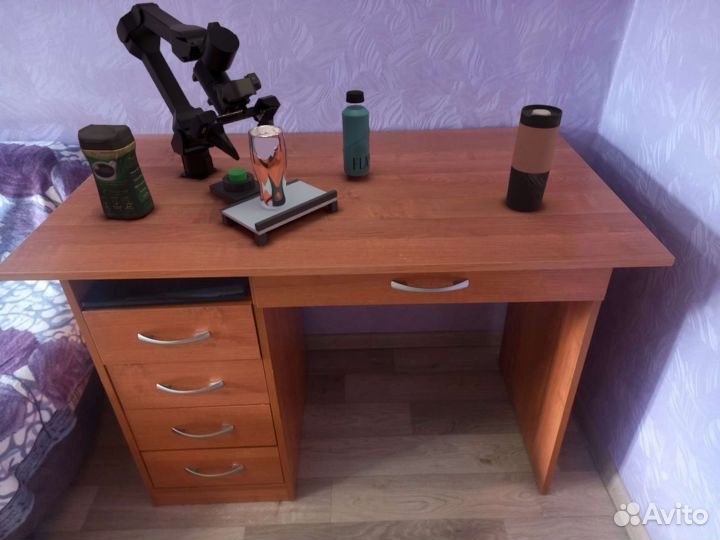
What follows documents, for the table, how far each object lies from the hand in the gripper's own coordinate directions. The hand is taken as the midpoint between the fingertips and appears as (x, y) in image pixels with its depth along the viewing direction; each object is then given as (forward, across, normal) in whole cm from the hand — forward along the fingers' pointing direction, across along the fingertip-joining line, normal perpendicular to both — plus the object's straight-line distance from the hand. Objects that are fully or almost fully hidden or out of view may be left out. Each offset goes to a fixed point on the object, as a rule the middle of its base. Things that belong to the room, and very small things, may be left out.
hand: (258, 153), depth 95 cm
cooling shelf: (+13, 0, +5) cm, 13 cm away
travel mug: (+36, +39, -19) cm, 57 cm away
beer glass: (+10, -1, +3) cm, 11 cm away
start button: (-1, 0, +13) cm, 13 cm away
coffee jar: (-5, -21, +23) cm, 32 cm away
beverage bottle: (+11, +25, +7) cm, 28 cm away
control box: (+2, 0, +16) cm, 16 cm away
